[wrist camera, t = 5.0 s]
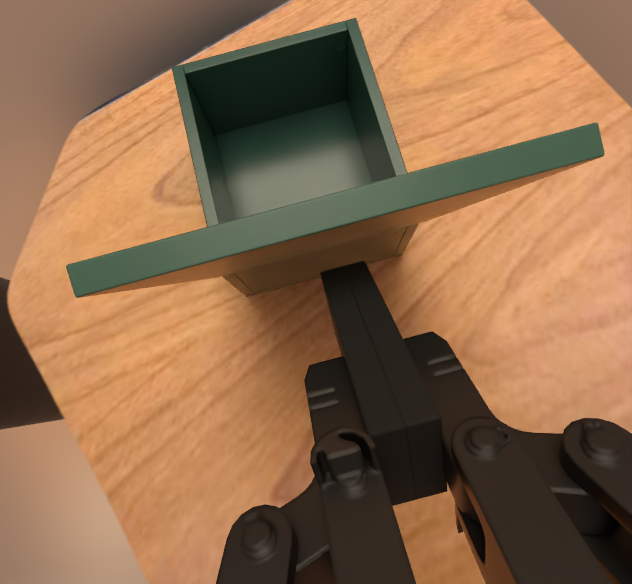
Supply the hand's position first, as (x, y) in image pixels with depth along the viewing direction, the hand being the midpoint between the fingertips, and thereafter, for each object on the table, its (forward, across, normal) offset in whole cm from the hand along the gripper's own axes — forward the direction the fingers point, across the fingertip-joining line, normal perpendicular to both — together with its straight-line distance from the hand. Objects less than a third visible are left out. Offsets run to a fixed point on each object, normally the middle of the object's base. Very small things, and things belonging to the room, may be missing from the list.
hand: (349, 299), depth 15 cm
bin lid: (+5, 0, 0) cm, 5 cm away
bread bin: (+24, 0, -5) cm, 25 cm away
